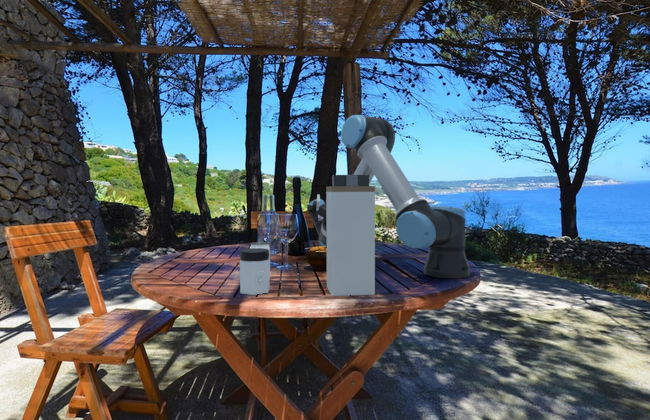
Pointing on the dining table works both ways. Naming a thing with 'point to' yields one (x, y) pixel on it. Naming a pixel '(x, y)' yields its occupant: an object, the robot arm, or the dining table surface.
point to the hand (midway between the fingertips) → (338, 197)
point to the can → (264, 246)
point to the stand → (350, 240)
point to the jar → (254, 271)
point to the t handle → (350, 180)
